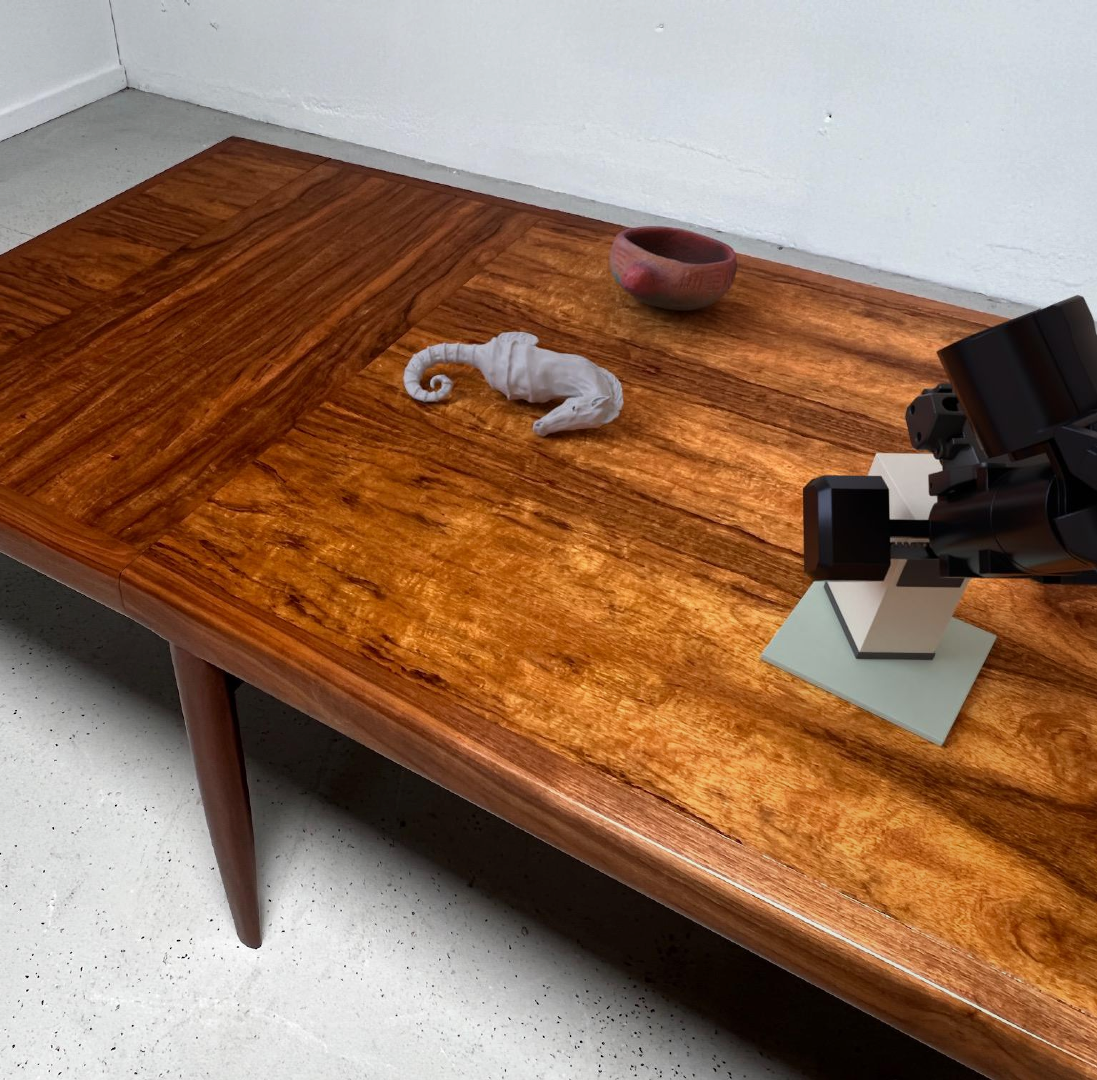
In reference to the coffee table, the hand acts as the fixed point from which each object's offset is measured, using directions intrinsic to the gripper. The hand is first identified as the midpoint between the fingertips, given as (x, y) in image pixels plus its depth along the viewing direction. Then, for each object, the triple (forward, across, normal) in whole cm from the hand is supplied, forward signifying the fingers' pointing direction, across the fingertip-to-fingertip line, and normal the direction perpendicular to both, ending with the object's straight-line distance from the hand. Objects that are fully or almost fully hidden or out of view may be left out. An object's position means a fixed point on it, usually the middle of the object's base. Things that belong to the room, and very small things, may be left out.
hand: (899, 541), depth 71 cm
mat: (+3, 0, +7) cm, 8 cm away
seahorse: (+25, +23, -14) cm, 37 cm away
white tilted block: (+4, 0, +5) cm, 7 cm away
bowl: (+37, +6, -27) cm, 46 cm away
